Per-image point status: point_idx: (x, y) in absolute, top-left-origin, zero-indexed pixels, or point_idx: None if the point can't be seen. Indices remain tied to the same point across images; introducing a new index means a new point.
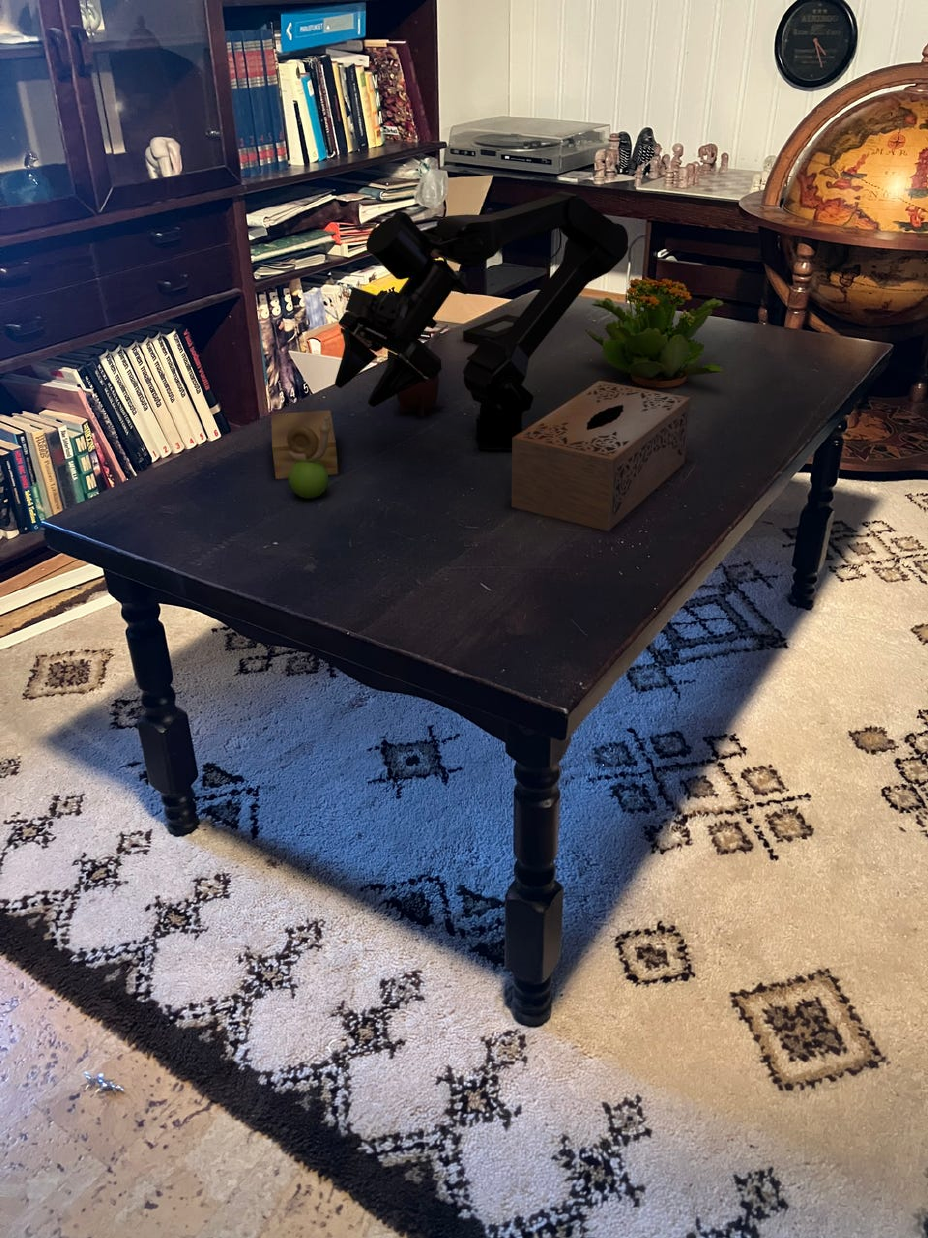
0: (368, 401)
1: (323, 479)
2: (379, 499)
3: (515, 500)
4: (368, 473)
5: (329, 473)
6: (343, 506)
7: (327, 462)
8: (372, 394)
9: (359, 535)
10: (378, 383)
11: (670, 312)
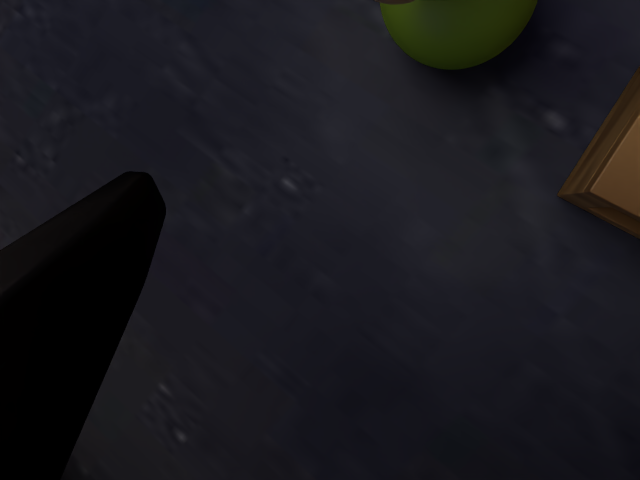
0: (132, 171)
1: (383, 15)
2: (290, 189)
3: None
4: (484, 282)
5: (576, 166)
6: (321, 71)
7: (588, 158)
8: (94, 206)
9: (144, 14)
10: (16, 270)
11: None
